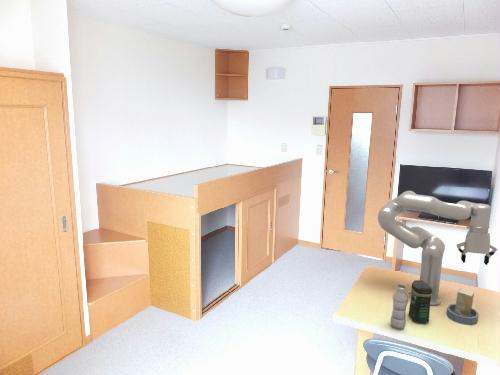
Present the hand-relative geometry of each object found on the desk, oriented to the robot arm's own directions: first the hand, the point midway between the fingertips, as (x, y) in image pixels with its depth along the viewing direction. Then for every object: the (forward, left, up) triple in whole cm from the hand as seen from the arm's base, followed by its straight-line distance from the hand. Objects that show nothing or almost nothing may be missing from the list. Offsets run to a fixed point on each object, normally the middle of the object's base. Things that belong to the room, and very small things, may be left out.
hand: (474, 262), depth 185 cm
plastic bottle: (-38, -23, -25) cm, 51 cm away
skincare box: (-5, -8, -24) cm, 26 cm away
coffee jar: (-27, -14, -25) cm, 39 cm away
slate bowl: (-6, -8, -25) cm, 27 cm away
